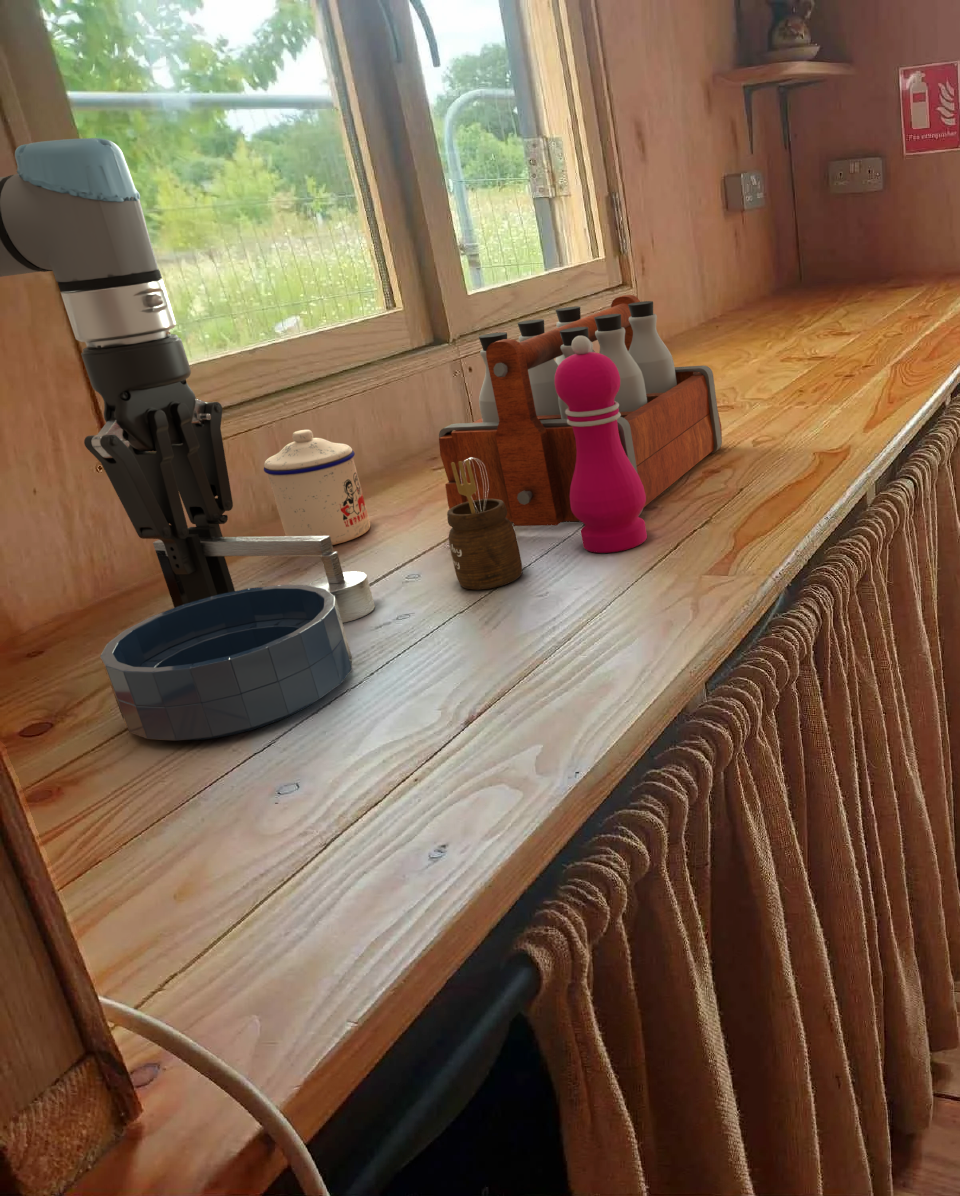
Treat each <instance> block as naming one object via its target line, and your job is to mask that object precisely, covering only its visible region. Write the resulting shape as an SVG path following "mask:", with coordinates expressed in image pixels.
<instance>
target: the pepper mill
mask: <svg viewBox="0 0 960 1196" xmlns="http://www.w3.org/2000/svg"><path fill="white" fill-rule="evenodd" d="M571 346H572V350H573V351H574V352H575V353H576V354H574V355H571V356H569V357H567V358H566V359H564V360H563V361H562V362H561V363H560V364H559V366H558V367H557V369H556V373H555V389H556V392H557V394H558V396H559V397H560V398H561V399H562V400H563V401H564V402H565V403H566V404H567V405H568V407H569V408H567V409H566V411H565V413H566V415H568V416H567V418H568V420H567V423H568V424H569V425H571V426H572V427H573V431H574V435H575V439H576V449H577V455H576V465H575V470H574V474H573V478H572V482H571V487H570V505H571V510H572V512H573V514H574V515H575V516H576V517H577V518H578V519H579V520H580V521H581V522H580V523H582V524H584V526H583V527H581V529H580V537H581V543H582V548H583V549H585V550H586V551H587V552H590V553H595V554H596V553H597V554H609V553H611V554H612V553H619V552H623V551H627V550H630V549H634V548H635V547H638V546H640V545H642V544H643V543H644V542H646V540H647V538H648V534H647V528H646V522H645V520H644V519H643V518H641V517H640V515H641V514H640V512H641V510H642V509H643V510H644V508H645V507H644V505H645V502H646V495H645V491H644V487H643V484H642V482H641V480H640V477H639V475H638V473H637V472H636V470H635V469H634V467H633V466H632V464H631V462H630V461H629V459H628V457H627V455H626V454H625V452H624V449H623V447H622V444H621V441H620V437H619V433H618V425H617V419H618V418H620V416H621V414H620V412H619V409H618V407H619V403H618V402H616V401H614V398H615V396H616V394H617V392H618V391H619V388H620V375H619V372H618V369H617V367H616V365H615V364H614V363H613V361H612V360H611V359H610V358H608V357H607V356H605V355H603V354H600V353H599V352H596V351H595V352H589V351H590V349H591V342H590V340H589V339H588V338H587V337H585V336H577V337H575V338H574V339H573V341H572V345H571ZM643 507H644V508H643ZM639 514H640V515H639ZM638 515H639V516H638Z"/></svg>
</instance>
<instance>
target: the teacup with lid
mask: <svg viewBox="0 0 960 1196" xmlns="http://www.w3.org/2000/svg"><path fill="white" fill-rule="evenodd" d="M291 436H292V439H293V441H292V442H289V443H288V444H286V445H285V446H283V448H281V450H280V451H278V452H277V453H275V454H274V455H272V456H270V457H268V458H267V459H266V460H265V461H264V464H263V472H264V473H266V475H267V477H268V481H269V484H270V488H271V491H272V495H273V498H274V502H275V506H276V508H277V512H278V515H279V519H280V523H281V526H282V529H283V533H284V536H330V539H331V543H332V546H336V545H338V544H343V543H346V542H349V541H352V540H354V539H357V538H358V537H360V536H363V535H364V534H366V533H367V532H368V531H369V530H370V528H371V521H370V517H369V514H368V510H367V506H366V501H365V499H364V494H363V489H362V486H361V483H360V479H359V475H358V471H357V467H356V464H355V460H354V457H355V451H354V450H353V448H352V447H351V446H350V445H348V444H346V443H342V442H341V443H340V442H333V441H329V440H327V439H326V438H322V437H314V433H313V431H312V430H311V429H300V430H296V431H294V432H292V435H291Z"/></svg>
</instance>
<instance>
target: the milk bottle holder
mask: <svg viewBox="0 0 960 1196" xmlns="http://www.w3.org/2000/svg"><path fill="white" fill-rule="evenodd" d="M555 313H556V317H557V320H558V321H556V327H555V328H554V329H551V330H548V331H546V332H545V319H543V318H542V319H541V318H539V319H530V320H523V321H519V322H517V323H516V324H517V327H518V330H519V332H520V335H519V336H518V341H517V340H516V339H512V338H508V333H507V332H503V331H502V332H492V333H486V334H482V335H479V336H478V339H479V342H480V345H481V348H482V349H481V350H480V351H479V352H480V353H479V355H480V356H481V358H482V360H483V363H484V365H485V374H484V378H483V382H482V385H481V389H480V391H479V397H478V406H479V411H480V416H481V418H479V419H477V420H475V421H474V420H473V422H465V423H464V422H463V423H452V424H451V423H450V424H449V425H447V426H445V427H443V428H441V429H440V431H439V433H438V443H439V455H440V459H441V462H442V465H443V468H444V472H445V474H446V478H447V481H448V482H446V483H445V484H444V485H445V491H446V498H447V499H446V500H447V505H448V510H449V509H451V508H452V507H454V506H456V505H459V504H461V503H465V502H468V498H467V497H466V496H464V495H461V494H459V492H458V488H457V485H456V481H455V477H454V473H453V470H452V466H451V463H452V462H454V463H455V466H456V470H457V473H458V477H459V481H460V484H464V483H463V479H462V475H461V477H460V473H461V471H460V468H459V464H458V462H459V461H461V462H463V461H464V460H466V459H468V458H471V459H472V458H477V460H476V459H475V460H474V459H472V460H471V459H468V460H469V462H470V466H471V470H472V474H473V477H474V481H475V485H476V489H477V490H476V492H475V493H476V495H475V493H474V494H472V495H471V496H472V497H471V498H472V499H473V500H479V498H480V499H483V498H484V499H499V500H502V501H503V502H504V504H505V506H506V509H507V516H506V517H505V518H507V519H508V520H510V522H511V523H512V525H513V527H538V526H539V527H540V526H541V527H542V526H543V527H544V526H550V527H551V526H558V525H560V524H562V523H563V524H564V523H567V524H569V523H570V524H571V523H582V522H581V521H580V520H579V519H578V518H577V517H576V516H575V515H574V514H573V512H572V510H571V505H570V487H571V482H572V478H573V474H574V470H575V465H576V455H577V449H576V439H575V435H574V431H573V427H572V426H571V425H569V424H568V423H567V420H568V418H567V416H568V415H566V413H565V411H566V409H567V408H569V407H568V405H567V404H566V403H565V402H564V401H563V400H562V399H561V398H560V397H559V396H558V394H557V392H556V389H555V373H556V369H557V367H558V366H559V364H560V363H561V362H562V361H563V360H564V359H566V358H567V357H569V356H571V355H574V354H576V353H575V352H574V351H573V350H572V346H571V345H572V341H573V339H574V338H575V337H577V336H585V337H587V338H588V339H589V340H590V342H591V349H590V351H589V352H595V353H596V351H595V350H594V348H593V347H594V343H593V342H596V341H597V342H598V345H599V352H598V353H600V354H603V355H605V356H607V357H608V358H610V359H611V360H612V361H613V363H614V364H615V365H616V367H617V369H618V372H619V375H620V388H619V391H618V392H617V394H616V396H615V398H614V401H616V402H618V403H619V407H618V409H619V412H620V414H621V416H620V418H618V419H617V425H618V433H619V437H620V441H621V444H622V447H623V449H624V452H625V454H626V455H627V457H628V459H629V461H630V462H631V464H632V466H633V467H634V469H635V470H636V472H637V473H638V475H639V477H640V480H641V482H642V484H643V487H644V491H645V495H646V502H645V505H644V507H643V509H642V510H641V512H640V514H639V515H638V517H640V516H641V514H642V513H643V510H644V508H645V507H647V506H648V505H649V504H650V503H651V502H652V501H653V500H655V499H656V498H657V497H659V496H660V495H661V494H662V493H663V492H664V491H666V490H667V489H668V488H670V487H671V486H672V485H673V484H674V483H675V482H677V481H678V480H679V479H680V478H682V477H683V476H684V475H685V474H687V472H689V471H690V470H691V469H692V468H693V467H695V466H696V465H697V464H698V463H699V462H700V461H702V460H703V459H704V458H706V457H707V456H708V455H712V454H715V453H716V452H717V451H718V450H720V448H721V447H722V445H723V436H722V433H723V431H722V422H721V418H720V414H719V410H718V401H717V393H716V386H715V377H714V372H713V370H712V368H710V367H709V366H708V365H705V364H703V365H686V366H675V362H674V357H673V355H672V353H671V351H670V350H669V348H668V347H667V345H666V343H664V341H663V340H662V338H661V337H660V335H659V333H658V329H657V320H658V316H657V314H656V313H654V301H652V300H646V301H645V300H644V301H641V300H640V299H639V297H637V296H635V295H633V294H623V295H620V296H617V297H615V298H614V299H612V301H611V304H610V307H608V308H606V309H603V310H601V311H599V312H596V313H593V314H591V315H588V316H585V317H583V318H581V317H582V316H581V315H582V314H581V313H582V312H581V306H566V307H560V308H557V309H555ZM478 459H479V460H478ZM472 461H473V463H472ZM476 461H477V462H478V463H477V462H476ZM465 462H466V461H464V462H463V463H464V465H463V468H464V472H466V478H467V482H468V483H471V481H470V477H469V473H468V470H467V466H466V464H465ZM463 463H462V464H463ZM480 463H481V464H480ZM478 464H479V465H478ZM483 464H484V465H483ZM473 465H474V467H473ZM481 465H482V466H481ZM479 466H480V467H479ZM484 466H485V467H484ZM482 467H483V469H482ZM474 469H475V472H474ZM480 469H481V471H480ZM485 469H486V470H485ZM483 471H484V473H483ZM481 473H482V475H481ZM486 473H487V475H486ZM475 474H476V477H475ZM484 475H485V478H484ZM487 477H488V480H487ZM482 478H483V480H482ZM476 479H477V482H476ZM461 480H462V483H461ZM485 481H486V485H485ZM483 483H484V488H483ZM488 484H489V490H488ZM477 485H478V488H477ZM478 491H479V494H478ZM485 493H486V498H485ZM487 494H488V497H487ZM476 497H477V499H476ZM473 500H472V501H473Z"/></svg>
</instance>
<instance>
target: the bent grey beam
mask: <svg viewBox="0 0 960 1196" xmlns="http://www.w3.org/2000/svg"><path fill="white" fill-rule="evenodd" d="M199 539H200V543H201V546H202V549H203V553H204V556H225V557H320V558H321V561H322V565H323V569H324V573H325V576H322V577H320V578H318V579H315V580H313V581H311V582H310V583H309V584H307V585H308V586H313V587H318V588H323V589H326V590H327V591H328V592H330V593H331V594H332V595H334V596H335V598H336V601H337V605H338V608H339V612H340V616H341V619H342V623H343V624H344V623H348V622H352V621H355V620H358V619H360V618H363V617H365V616H367V615H369V614H370V613H372V612H373V611H374V610H375V607H376V605H375V602H374V597H373V594H372V591H371V587H370V583H369V579H368V575H367V573H365V572H363V571H343V568H342V565H341V561H340V558H339V557H340V556H339V553H338V551H334V547H333V546H334V545H332V543H331V539H330V536H285V535H283V536H282V535H281V536H279V535H277V536H276V535H275V536H273V535H271V536H268V535H267V536H223V537H199ZM152 544H153V547H154V551H155V554H156V557H157V560H158V563H159V567H160V569H161V573H162V575H163V578H164V581H165V584H166V587H167V590H168V593H169V596H170V599H171V602H172V604H173V608H175V607H178V606H181V605H184V604H187V603H189V602H188V599H187V596H186V593H185V590H184V587H183V584H182V581H181V578H180V575H179V574H175V572H174V571H173V570H172V567H171V563H170V561H169V558H168V555H167V552H166V549H165V546H164V543H163V542H162V541H161V540H160V539H156V540H155V541H153V542H152Z"/></svg>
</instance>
